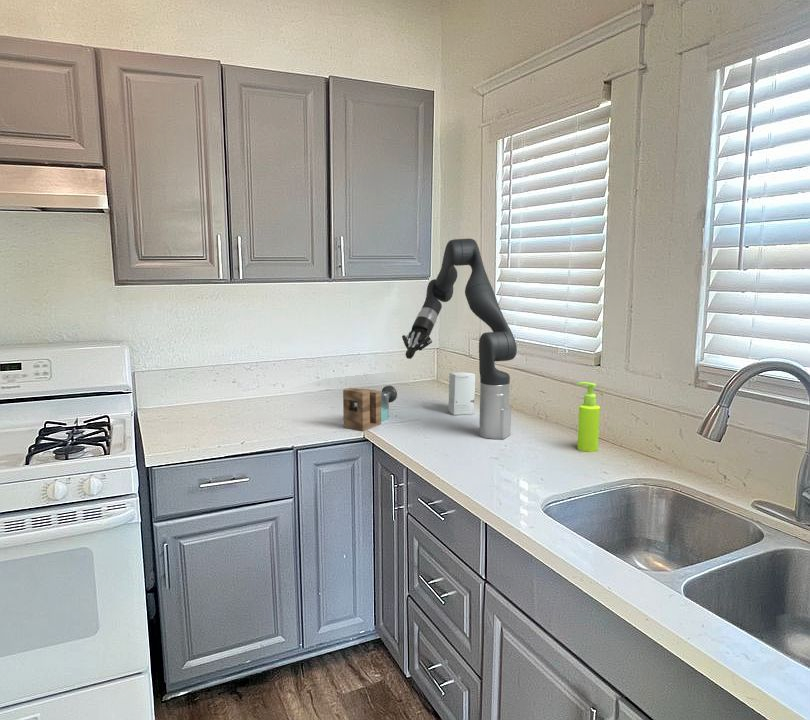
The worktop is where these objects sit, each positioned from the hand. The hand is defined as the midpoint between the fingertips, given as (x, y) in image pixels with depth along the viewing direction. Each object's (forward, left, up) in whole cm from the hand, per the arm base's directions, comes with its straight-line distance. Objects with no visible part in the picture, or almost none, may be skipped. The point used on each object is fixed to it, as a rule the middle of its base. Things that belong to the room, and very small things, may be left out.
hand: (408, 357), depth 227 cm
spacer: (0, +20, -20) cm, 29 cm away
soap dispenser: (-71, +13, -20) cm, 75 cm away
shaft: (0, +23, -19) cm, 29 cm away
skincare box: (-20, -5, -20) cm, 29 cm away
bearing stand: (0, +29, -20) cm, 35 cm away
